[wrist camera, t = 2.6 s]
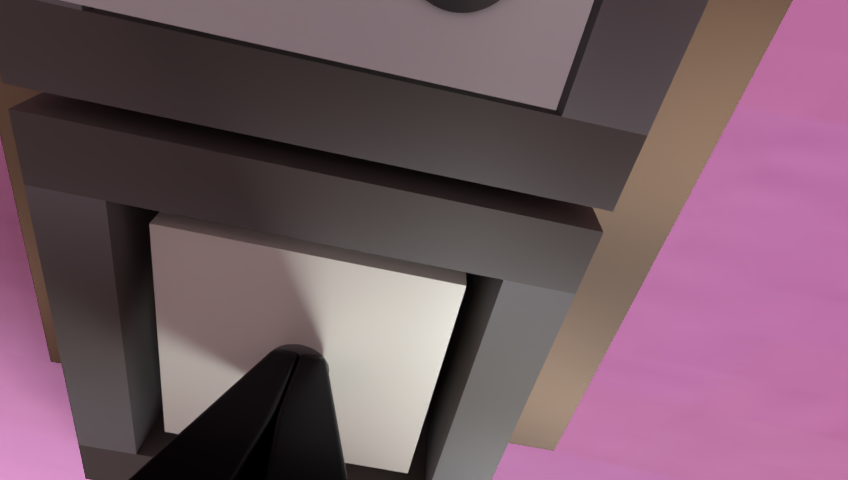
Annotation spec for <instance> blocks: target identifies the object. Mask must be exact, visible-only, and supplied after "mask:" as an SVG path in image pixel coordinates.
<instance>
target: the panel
mask: <svg viewBox="0 0 848 480" xmlns="http://www.w3.org/2000/svg"><path fill="white" fill-rule="evenodd" d="M792 1H793V0H594V2H593V5H592V8H591V11H590V14H589V17H588V20H587V22H586V25H585V28H584V31H583V34H582V37H581V40H580V43H579V45H578V48H577V51H576V54H575V57H574V60H573V63H572V66H571V68H570V71H569V74H568V77H567V80H566V83H565V86H564V88H563V91H562V94H561V97H560V100H559V103H558V106H557V109H556V110H552V109H548V108H543V107H539V106H534V105H530V104H525V103H521V102H516V101H512V100H507V99H503V98H498V97H493V96H489V95H484V94H480V93H475V92H471V91H466V90H462V89H457V88H453V87H448V86H444V85H439V84H435V83H430V82H426V81H421V80H417V79H412V78H408V77H403V76H399V75H394V74H390V73H385V72H381V71H376V70H372V69H367V68H363V67H358V66H354V65H349V64H345V63H340V62H336V61H331V60H327V59H322V58H318V57H313V56H309V55H304V54H300V53H295V52H291V51H286V50H282V49H277V48H273V47H268V46H264V45H259V44H255V43H250V42H246V41H241V40H237V39H232V38H228V37H223V36H219V35H214V34H210V33H205V32H201V31H196V30H192V29H187V28H183V27H178V26H174V25H169V24H165V23H160V22H156V21H151V20H147V19H142V18H138V17H133V16H129V15H124V14H120V13H115V12H111V11H106V10H102V9H97V8H93V7H88V6H84V5H79V4H75V3H70V2H66V1H61V0H0V136H1V140H2V145H3V149H4V153H5V158H6V162H7V167H8V171H9V176H10V180H11V185H12V189H13V194H14V198H15V203H16V207H17V212H18V216H19V221H20V225H21V230H22V234H23V238H24V243H25V247H26V252H27V256H28V261H29V265H30V270H31V274H32V279H33V283H34V288H35V292H36V297H37V301H38V306H39V310H40V315H41V319H42V323H43V328H44V332H45V337H46V341H47V346H48V350H49V355H50V359H51V362H56V363H62V368H63V373H64V377H65V382H66V387H67V392H68V396H69V401H70V406H71V411H72V416H73V420H74V425H75V430H76V435H77V439H78V444H79V449H80V454H81V458H82V463H83V468H84V473H85V478H86V479H92V480H128V479H129V478H130V477H131V476H133V475H134V474H135V473H136V472H137V471H138V470H139V469H140V468H141V467H143V466H144V465H145V464H146V463H147V462H148V461H149V460H150V459H151V458H153V457H154V456H155V455H156V454H157V453H158V452H159V451H160V450H161V449H163V448H164V447H165V446H166V445H167V444H168V443H169V442H170V441H171V440H173V439H174V438H175V437H176V436H177V435H178V434H175V433H169V432H165V429H164V415H163V402H162V389H161V375H160V362H159V349H158V335H157V322H156V308H155V295H154V282H153V268H152V255H151V242H150V228H149V223H150V222H151V221H152V220H153V219H154V218H155V217H156V216H157V215H158V213H159V212H164V213H169V214H174V215H179V216H184V217H189V218H194V219H199V220H204V221H209V222H214V223H219V224H224V225H230V226H235V227H240V228H245V229H250V230H255V231H260V232H265V233H270V234H275V235H280V236H285V237H290V238H295V239H300V240H305V241H310V242H315V243H320V244H325V245H330V246H335V247H340V248H345V249H350V250H355V251H360V252H366V253H371V254H376V255H381V256H386V257H391V258H396V259H401V260H406V261H411V262H416V263H421V264H426V265H431V266H436V267H441V268H446V269H451V270H456V271H461V272H466V289H465V292H464V295H463V299H462V302H461V305H460V308H459V311H458V315H457V318H456V321H455V324H454V327H453V331H452V334H451V337H450V340H449V343H448V346H447V350H446V353H445V356H444V359H443V362H442V366H441V369H440V372H439V375H438V378H437V382H436V385H435V388H434V391H433V394H432V398H431V401H430V404H429V407H428V410H427V413H426V417H425V420H424V423H423V426H422V429H421V433H420V436H419V439H418V442H417V445H416V449H415V452H414V455H413V458H412V461H411V465H410V468H409V471H408V473H402V472H396V471H391V470H385V469H379V468H373V467H367V466H361V465H356V464H350V463H345V467H346V472H347V478H348V480H492V477H493V475H494V473H495V471H496V469H497V466H498V464H499V462H500V460H501V457H502V455H503V453H504V451H505V449H506V446H507V444H508V443H513V444H518V445H524V446H530V447H535V448H541V449H547V450H552V451H554V449H555V447H556V446H557V444H558V442H559V440H560V438H561V436H562V434H563V432H564V430H565V429H566V427H567V425H568V423H569V421H570V419H571V417H572V415H573V414H574V412H575V410H576V408H577V406H578V404H579V402H580V400H581V398H582V397H583V395H584V393H585V391H586V389H587V387H588V385H589V383H590V381H591V380H592V378H593V376H594V374H595V372H596V370H597V368H598V366H599V364H600V363H601V361H602V359H603V357H604V355H605V353H606V351H607V349H608V348H609V346H610V344H611V342H612V340H613V338H614V336H615V334H616V332H617V331H618V329H619V327H620V325H621V323H622V321H623V319H624V317H625V315H626V314H627V312H628V310H629V308H630V306H631V304H632V302H633V300H634V298H635V297H636V295H637V293H638V291H639V289H640V287H641V285H642V283H643V282H644V280H645V278H646V276H647V274H648V272H649V270H650V268H651V266H652V265H653V263H654V261H655V259H656V257H657V255H658V253H659V251H660V249H661V248H662V246H663V244H664V242H665V240H666V238H667V236H668V234H669V232H670V231H671V229H672V227H673V225H674V223H675V221H676V219H677V217H678V216H679V214H680V212H681V210H682V208H683V206H684V204H685V202H686V200H687V199H688V197H689V195H690V193H691V191H692V189H693V187H694V185H695V183H696V182H697V180H698V178H699V176H700V174H701V172H702V170H703V168H704V166H705V165H706V163H707V161H708V159H709V157H710V155H711V153H712V151H713V150H714V148H715V146H716V144H717V142H718V140H719V138H720V136H721V134H722V133H723V131H724V129H725V127H726V125H727V123H728V121H729V119H730V117H731V116H732V114H733V112H734V110H735V108H736V106H737V104H738V102H739V100H740V99H741V97H742V95H743V93H744V91H745V89H746V87H747V85H748V84H749V82H750V80H751V78H752V76H753V74H754V72H755V70H756V68H757V67H758V65H759V63H760V61H761V59H762V57H763V55H764V53H765V51H766V50H767V48H768V46H769V44H770V42H771V40H772V38H773V36H774V34H775V33H776V31H777V29H778V27H779V25H780V23H781V21H782V19H783V18H784V16H785V14H786V12H787V10H788V8H789V6H790V4H791V2H792Z"/></svg>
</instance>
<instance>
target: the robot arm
mask: <svg viewBox="0 0 848 480" xmlns="http://www.w3.org/2000/svg"><path fill="white" fill-rule="evenodd" d="M128 480H348V478H347V472H346V467H345V461H344V455H343V450H342V444H341V439H340V433H339V427H338V422H337V416H336V411H335V405H334V399H333V394H332V388H331V383H330V377H329V371H328V366H327V361H326V359H325V358H323V357H318V356H313V355H307V354H302V355H301V356H300V357H299V355H298V354H297V353H296V352H291V351H286V350H280V349H274V350H272V351H271V352H269V353H268V354H267V355H266V356H265V357H264V358H263V359H262V360H260V361H259V362H258V363H257V364H256V365H255V366H254V367H253V368H252V369H250V370H249V371H248V372H247V373H246V374H245V375H244V376H243V377H242V378H240V379H239V380H238V381H237V382H236V383H235V384H234V385H233V386H232V387H230V388H229V389H228V390H227V391H226V392H225V393H224V394H223V395H222V396H220V397H219V398H218V399H217V400H216V401H215V402H214V403H213V404H212V405H210V406H209V407H208V408H207V409H206V410H205V411H204V412H203V413H201V414H200V415H199V416H198V417H197V418H196V419H195V420H194V421H193V422H191V423H190V424H189V425H188V426H187V427H186V428H185V429H184V430H183V431H181V432H180V433H179V434H178V435H177V436H176V437H175V438H174V439H173V440H171V441H170V442H169V443H168V444H167V445H166V446H165V447H164V448H163V449H161V450H160V451H159V452H158V453H157V454H156V455H155V456H154V457H153V458H151V459H150V460H149V461H148V462H147V463H146V464H145V465H144V466H143V467H141V468H140V469H139V470H138V471H137V472H136V473H135V474H134V475H133V476H131V477H130V478H129V479H128Z"/></svg>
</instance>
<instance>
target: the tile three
mask: <svg viewBox="0 0 848 480" xmlns="http://www.w3.org/2000/svg"><path fill="white" fill-rule="evenodd" d="M61 1H66V2H70V3H75V4H79V5H84V6H88V7H93V8H97V9H102V10H106V11H111V12H115V13H120V14H124V15H129V16H133V17H138V18H142V19H147V20H151V21H156V22H160V23H165V24H169V25H174V26H178V27H183V28H187V29H192V30H196V31H201V32H205V33H210V34H214V35H219V36H223V37H228V38H232V39H237V40H241V41H246V42H250V43H255V44H259V45H264V46H268V47H273V48H277V49H282V50H286V51H291V52H295V53H300V54H304V55H309V56H313V57H318V58H322V59H327V60H331V61H336V62H340V63H345V64H349V65H354V66H358V67H363V68H367V69H372V70H376V71H381V72H385V73H390V74H394V75H399V76H403V77H408V78H412V79H417V80H421V81H426V82H430V83H435V84H439V85H444V86H448V87H453V88H457V89H462V90H466V91H471V92H475V93H480V94H484V95H489V96H493V97H498V98H503V99H507V100H512V101H516V102H521V103H525V104H530V105H534V106H539V107H543V108H548V109H552V110H556V109H557V106H558V103H559V100H560V97H561V94H562V91H563V88H564V86H565V83H566V80H567V77H568V74H569V71H570V68H571V66H572V63H573V60H574V57H575V54H576V51H577V48H578V45H579V43H580V40H581V37H582V34H583V31H584V28H585V25H586V22H587V20H588V17H589V14H590V11H591V8H592V5H593V2H594V0H61Z"/></svg>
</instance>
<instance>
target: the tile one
mask: <svg viewBox="0 0 848 480" xmlns="http://www.w3.org/2000/svg"><path fill="white" fill-rule="evenodd" d="M149 228H150V242H151V255H152V268H153V282H154V295H155V308H156V322H157V335H158V349H159V362H160V375H161V389H162V402H163V415H164V429H165V432H169V433H175V434H179V433H180V432H181V431H183V430H184V429H185V428H186V427H187V426H188V425H189V424H190V423H191V422H193V421H194V420H195V419H196V418H197V417H198V416H199V415H200V414H201V413H203V412H204V411H205V410H206V409H207V408H208V407H209V406H210V405H212V404H213V403H214V402H215V401H216V400H217V399H218V398H219V397H220V396H222V395H223V394H224V393H225V392H226V391H227V390H228V389H229V388H230V387H232V386H233V385H234V384H235V383H236V382H237V381H238V380H239V379H240V378H242V377H243V376H244V375H245V374H246V373H247V372H248V371H249V370H250V369H252V368H253V367H254V366H255V365H256V364H257V363H258V362H259V361H260V360H262V359H263V358H264V357H265V356H266V355H267V354H268V353H269V352H271V351H272V350H274V349H280V350H286V351H291V352H296V353H297V354H298V355H299V357H300V356H301V355H302V354H307V355H313V356H318V357H323V358H325V359H326V361H327V366H328V371H329V377H330V383H331V388H332V394H333V399H334V405H335V411H336V416H337V422H338V427H339V433H340V439H341V444H342V450H343V455H344V461H345V463H350V464H356V465H361V466H367V467H373V468H379V469H385V470H391V471H396V472H402V473H408V471H409V468H410V465H411V461H412V458H413V455H414V452H415V449H416V445H417V442H418V439H419V436H420V433H421V429H422V426H423V423H424V420H425V417H426V413H427V410H428V407H429V404H430V401H431V398H432V394H433V391H434V388H435V385H436V382H437V378H438V375H439V372H440V369H441V366H442V362H443V359H444V356H445V353H446V350H447V346H448V343H449V340H450V337H451V334H452V331H453V327H454V324H455V321H456V318H457V315H458V311H459V308H460V305H461V302H462V299H463V295H464V292H465V289H466V272H461V271H456V270H451V269H446V268H441V267H436V266H431V265H426V264H421V263H416V262H411V261H406V260H401V259H396V258H391V257H386V256H381V255H376V254H371V253H366V252H360V251H355V250H350V249H345V248H340V247H335V246H330V245H325V244H320V243H315V242H310V241H305V240H300V239H295V238H290V237H285V236H280V235H275V234H270V233H265V232H260V231H255V230H250V229H245V228H240V227H235V226H230V225H224V224H219V223H214V222H209V221H204V220H199V219H194V218H189V217H184V216H179V215H174V214H169V213H164V212H159V213H158V215H157V216H156V217H155V218H154V219H153V220H152V221H151V222H150V223H149Z"/></svg>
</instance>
